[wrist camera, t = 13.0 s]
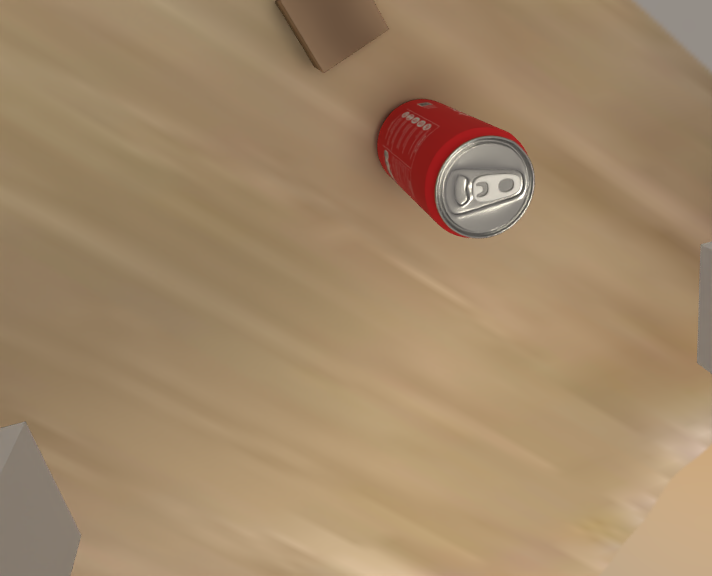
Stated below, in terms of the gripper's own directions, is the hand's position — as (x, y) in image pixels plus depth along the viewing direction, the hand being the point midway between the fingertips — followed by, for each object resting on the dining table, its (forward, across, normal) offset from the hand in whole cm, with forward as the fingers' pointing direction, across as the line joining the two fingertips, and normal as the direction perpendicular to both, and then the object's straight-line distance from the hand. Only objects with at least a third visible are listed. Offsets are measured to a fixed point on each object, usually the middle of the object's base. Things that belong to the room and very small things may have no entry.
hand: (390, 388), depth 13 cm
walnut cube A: (+29, +4, +6) cm, 30 cm away
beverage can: (+29, +8, -2) cm, 30 cm away
